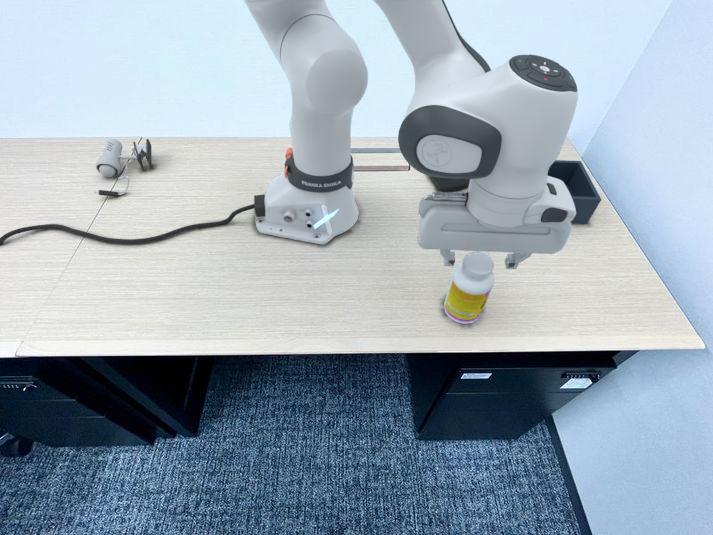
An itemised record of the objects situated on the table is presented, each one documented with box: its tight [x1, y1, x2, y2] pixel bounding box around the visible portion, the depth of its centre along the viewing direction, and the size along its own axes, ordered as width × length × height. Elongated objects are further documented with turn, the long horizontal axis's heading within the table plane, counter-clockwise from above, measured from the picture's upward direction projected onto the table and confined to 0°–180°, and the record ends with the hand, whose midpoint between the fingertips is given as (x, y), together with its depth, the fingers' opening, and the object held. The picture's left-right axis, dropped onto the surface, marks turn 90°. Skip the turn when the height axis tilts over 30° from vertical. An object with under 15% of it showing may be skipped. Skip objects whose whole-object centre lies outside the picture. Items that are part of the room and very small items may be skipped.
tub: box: [548, 159, 602, 225], centre depth 88 cm, size 14×14×7 cm
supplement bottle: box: [443, 251, 495, 325], centre depth 67 cm, size 7×7×13 cm
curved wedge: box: [429, 176, 470, 193], centre depth 96 cm, size 8×14×2 cm, turn 103°
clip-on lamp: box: [94, 138, 154, 198], centre depth 95 cm, size 12×6×18 cm
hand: (478, 264), depth 62 cm, fingers open, 8 cm apart
